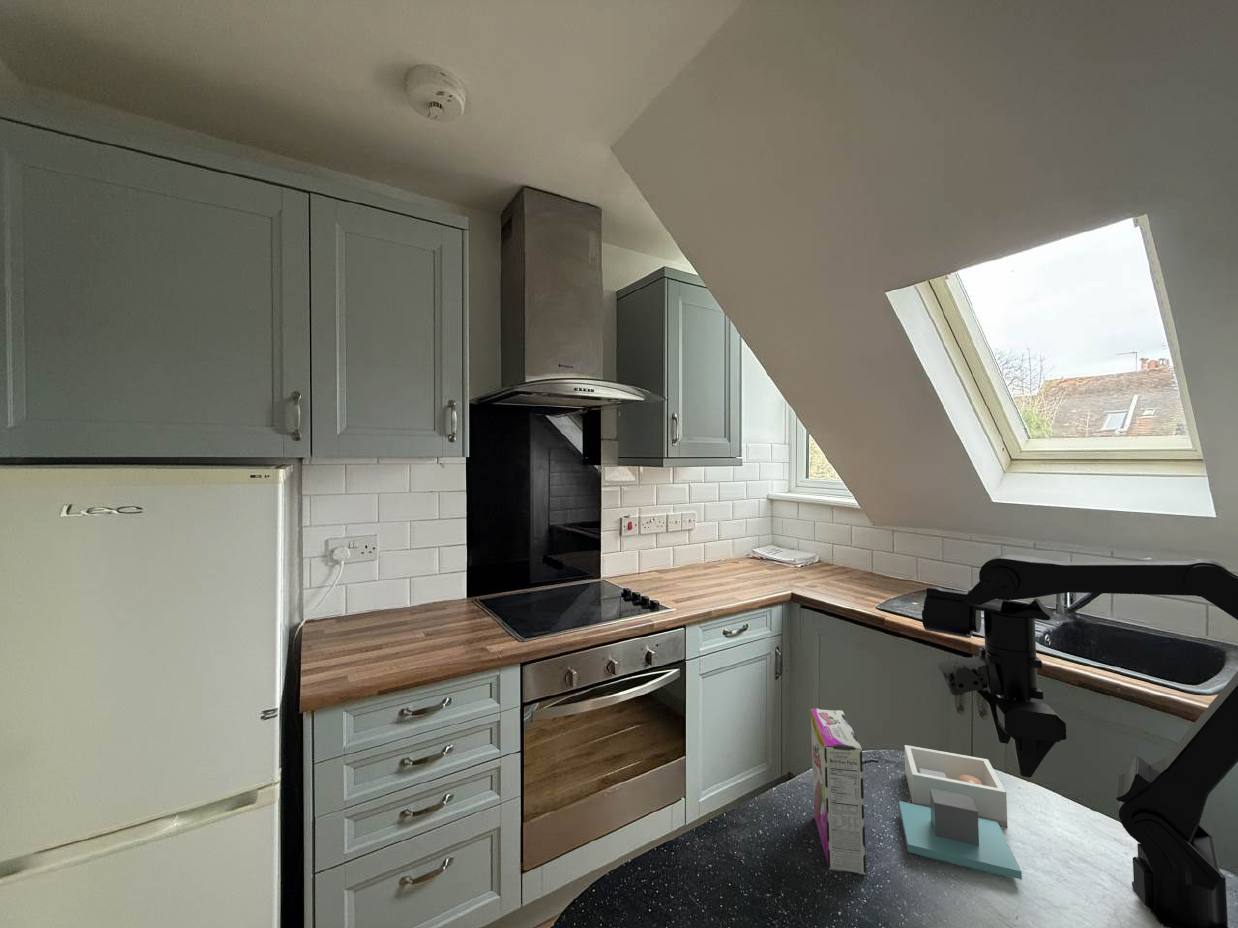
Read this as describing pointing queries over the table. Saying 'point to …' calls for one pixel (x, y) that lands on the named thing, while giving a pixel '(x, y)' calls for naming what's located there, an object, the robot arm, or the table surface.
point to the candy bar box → (838, 791)
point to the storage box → (955, 780)
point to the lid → (957, 834)
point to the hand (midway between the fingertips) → (1013, 758)
